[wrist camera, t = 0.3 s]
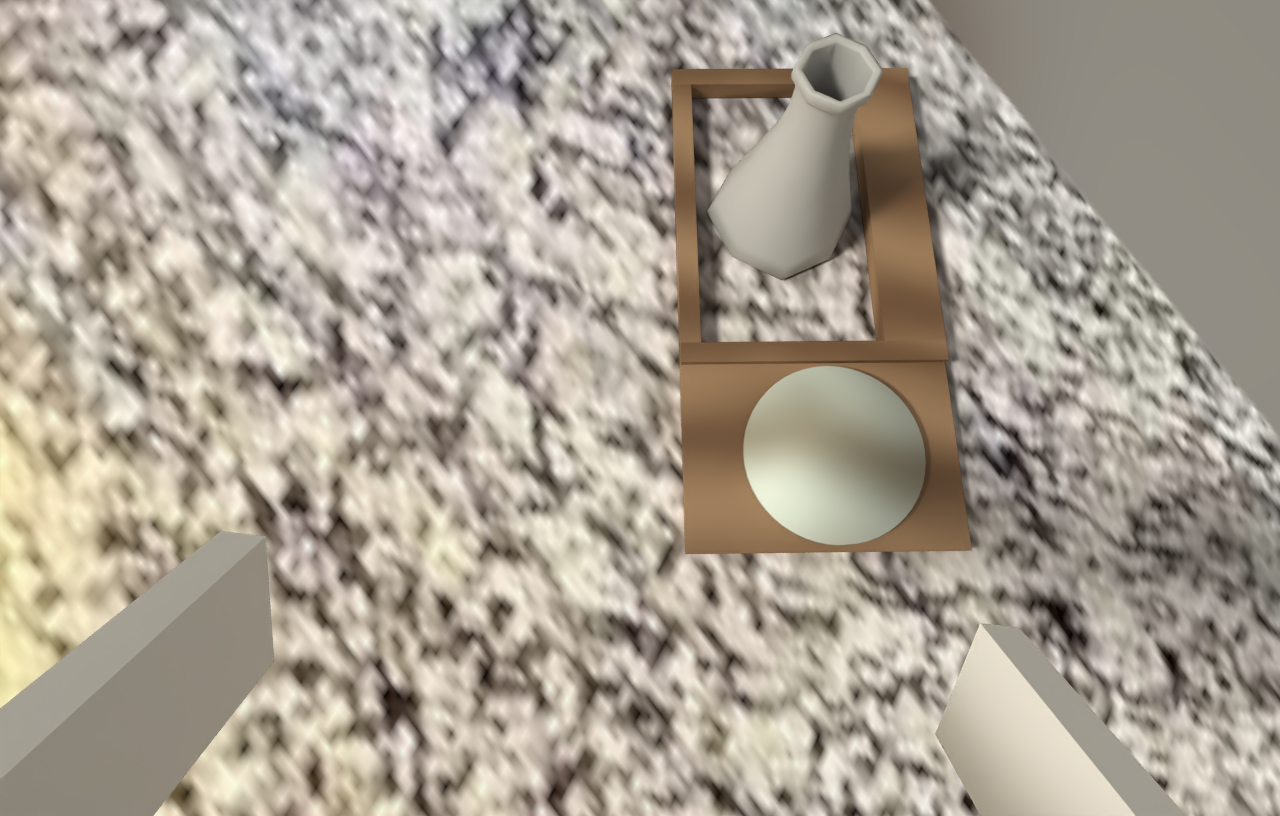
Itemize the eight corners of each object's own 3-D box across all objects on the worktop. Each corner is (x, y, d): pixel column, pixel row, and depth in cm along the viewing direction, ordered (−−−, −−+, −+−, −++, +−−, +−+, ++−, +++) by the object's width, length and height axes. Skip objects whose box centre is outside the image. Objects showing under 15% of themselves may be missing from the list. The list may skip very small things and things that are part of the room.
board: (964, 550, 28) (977, 550, 27) (685, 553, 28) (687, 553, 27) (899, 81, 34) (907, 66, 33) (671, 83, 34) (672, 67, 33)
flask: (873, 219, 32) (975, 72, 22) (780, 305, 31) (846, 189, 21) (775, 134, 33) (831, -39, 24) (682, 214, 32) (701, 65, 22)
